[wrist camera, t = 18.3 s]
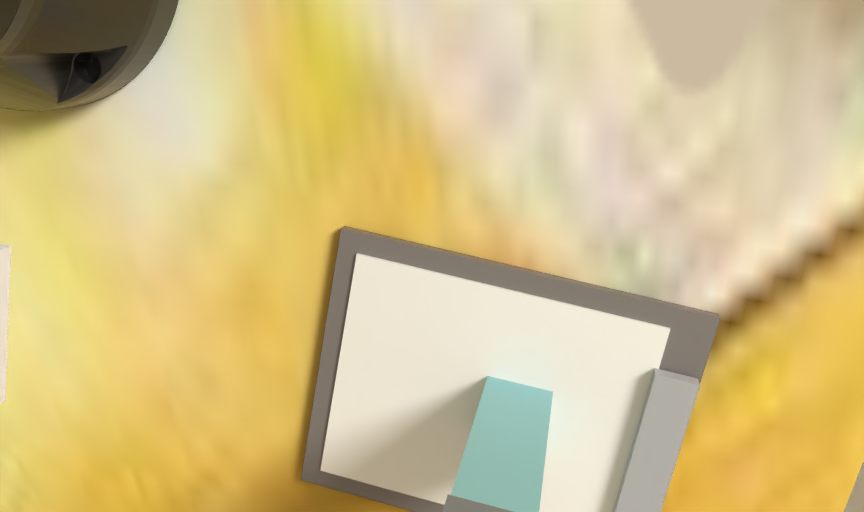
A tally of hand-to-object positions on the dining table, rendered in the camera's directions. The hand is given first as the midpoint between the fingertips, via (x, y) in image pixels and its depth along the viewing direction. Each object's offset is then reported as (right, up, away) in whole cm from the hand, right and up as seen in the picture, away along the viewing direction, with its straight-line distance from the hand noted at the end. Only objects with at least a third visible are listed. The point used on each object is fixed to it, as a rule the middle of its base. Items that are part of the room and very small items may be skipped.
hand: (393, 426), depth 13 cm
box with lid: (+5, -5, +28) cm, 29 cm away
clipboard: (+4, -5, +29) cm, 29 cm away
